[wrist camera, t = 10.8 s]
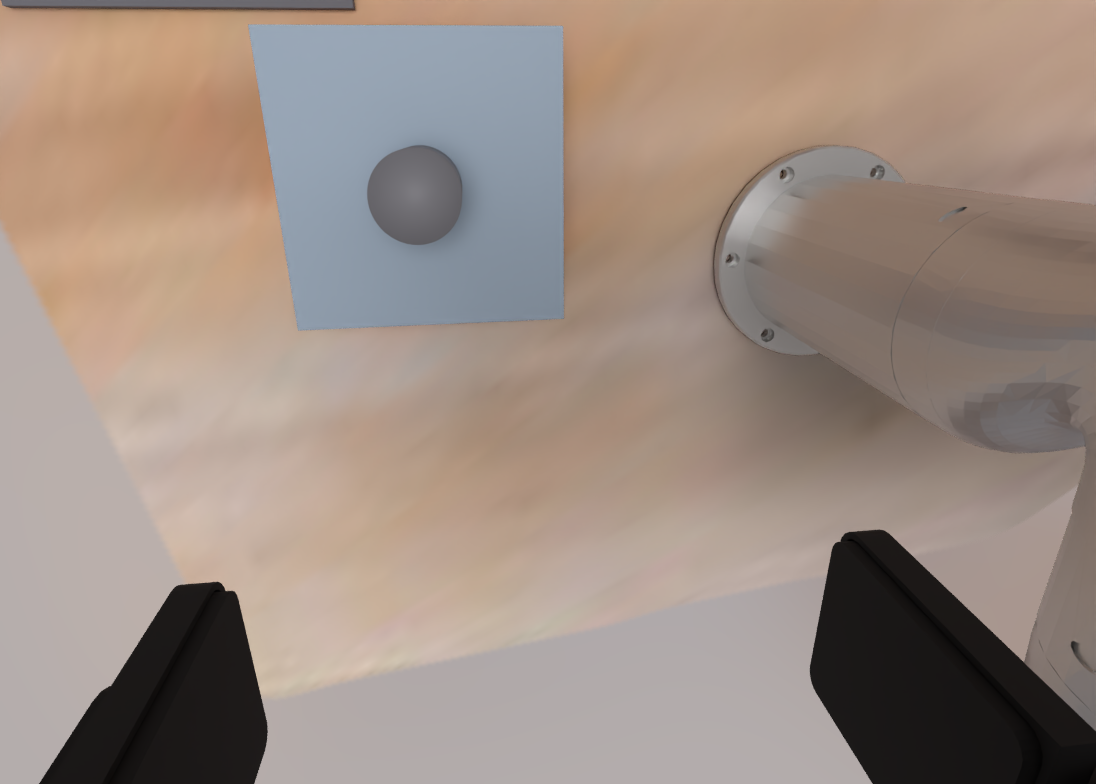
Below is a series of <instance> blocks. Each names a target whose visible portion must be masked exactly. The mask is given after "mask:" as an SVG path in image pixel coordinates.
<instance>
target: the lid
mask: <svg viewBox="0 0 1096 784" xmlns="http://www.w3.org/2000/svg"><path fill="white" fill-rule="evenodd" d="M248 27H249V33H250V39H251V45H252V51H253V57H254V64H255V70H256V76H257V82H258V88H259V94H260V100H261V106H262V113H263V119H264V125H265V131H266V137H267V143H268V149H269V155H270V162H271V168H272V174H273V180H274V186H275V192H276V198H277V204H278V211H279V217H280V223H281V229H282V235H283V241H284V247H285V253H286V260H287V266H288V272H289V278H290V284H291V290H292V296H293V302H294V309H295V315H296V321H297V327H298V330H319V329H342V328H365V327H388V326H410V325H433V324H456V323H479V322H502V321H524V320H547V319H564V206H563V26H465V25H248Z"/></svg>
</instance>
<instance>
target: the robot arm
mask: <svg viewBox="0 0 1096 784" xmlns="http://www.w3.org/2000/svg"><path fill="white" fill-rule="evenodd" d="M781 170H783V172H784V174H783V177H782V178H780V172H781ZM871 170H872V173H871ZM870 173H871V175H870ZM729 254H730V256H731V258H730V260H729V261H727V262H726V261H725V260H726V257H727V256H728V255H729ZM714 273H715V284H716V288H717V292H718V296H719V300H720V302H721V304H722V306H723V308H724V310H725V312H726V314H727V316H728V317H729V319H730V320H731V321H732V322H733V324H734V325H735V326H736V327H737V329H738V330H740V331H741V332H742V333H743V334H744V335H746V336H747V337H748V338H749V339H751V340H752V341H754V342H755V343H757V344H758V345H760V346H762V347H764V348H766V349H769V350H772V351H774V352H777V353H781V354H788V355H795V356H801V355H815V354H820V353H821V354H822V355H824V356H825V357H827V358H828V359H830V360H832V361H833V362H835V363H836V364H838V365H839V366H841V367H843V368H844V369H846V370H847V371H849V372H851V373H852V374H854V375H855V376H857V377H858V378H860V379H862V380H863V381H865V382H866V383H868V384H869V385H871V386H873V387H874V388H876V389H877V390H879V391H880V392H882V393H884V394H885V395H887V396H888V397H890V398H891V399H893V400H895V401H896V402H898V403H899V404H901V405H903V406H904V407H906V408H907V409H909V410H910V411H912V412H914V413H915V414H917V415H919V416H920V417H922V418H924V419H925V420H927V421H929V422H930V423H932V424H934V425H935V426H937V427H939V428H940V429H942V430H943V431H945V432H947V433H948V434H950V435H952V436H954V437H956V438H958V439H960V440H963V441H965V442H967V443H970V444H973V445H976V446H979V447H982V448H986V449H991V450H997V451H1003V452H1010V453H1038V452H1052V451H1060V450H1066V449H1072V448H1078V447H1084V446H1085V447H1086V454H1085V464H1084V468H1083V471H1082V475H1081V478H1080V482H1079V485H1078V488H1077V492H1076V495H1075V498H1074V500H1073V505H1072V514H1071V517H1070V520H1069V523H1068V526H1067V528H1066V532H1065V534H1064V537H1063V540H1062V543H1061V546H1060V549H1059V552H1058V554H1057V557H1056V560H1055V563H1054V566H1053V569H1052V572H1051V575H1050V578H1049V581H1048V583H1047V586H1046V589H1045V592H1044V595H1043V598H1042V601H1041V604H1040V607H1039V609H1038V613H1037V618H1036V621H1035V624H1034V627H1033V630H1032V633H1031V637H1030V641H1029V645H1028V649H1027V653H1026V657H1025V661H1024V662H1023V661H1022V660H1021V659H1020V658H1019V657H1018V656H1017V655H1015V654H1014V653H1013V652H1012V651H1011V650H1010V649H1009V648H1008V647H1007V646H1006V645H1005V644H1004V643H1003V642H1002V641H1001V640H1000V639H999V638H998V637H996V635H995V634H994V633H993V632H991V631H990V630H989V629H988V628H987V627H986V626H985V625H984V624H983V623H982V622H981V621H980V620H979V619H978V618H977V617H976V616H975V615H974V614H973V613H971V611H969V610H968V609H967V608H966V607H965V606H964V605H963V604H962V603H961V602H960V601H959V600H958V599H957V598H956V597H955V596H954V595H952V593H951V592H949V591H948V590H947V589H946V588H945V587H944V586H943V585H942V584H941V583H940V582H939V581H938V580H937V579H936V578H935V577H934V576H933V575H932V574H930V572H929V571H927V570H926V569H925V568H924V567H923V566H922V565H921V564H920V563H919V562H918V561H917V560H916V559H915V558H914V557H913V556H912V555H911V554H910V553H909V552H908V551H907V550H906V549H905V548H903V547H902V546H901V545H900V544H899V543H898V542H897V541H896V540H895V539H894V538H893V537H892V536H891V535H890V534H889V533H887V532H886V531H884V530H869V531H857V532H848V533H845V534H844V536H843V537H842V539H841V542H837V543H835V545H834V546H833V549H832V552H831V558H830V563H829V568H828V574H827V579H826V584H825V590H824V595H823V600H822V606H821V611H820V617H819V622H818V627H817V632H816V638H815V643H814V648H813V654H812V659H811V664H810V677H811V681H812V685H813V687H814V689H815V691H816V693H817V695H818V697H819V698H820V700H821V701H822V703H823V705H824V706H825V708H826V709H827V711H828V713H829V714H830V716H831V717H832V719H833V721H834V722H835V724H836V726H837V727H838V729H839V730H840V732H841V734H842V735H843V737H844V738H845V740H846V741H847V743H848V745H849V746H850V748H851V750H852V751H853V753H854V754H855V756H856V757H857V759H858V761H859V762H860V764H861V765H862V767H863V769H864V771H865V772H866V774H867V775H868V777H869V779H870V780H871V782H872V783H873V784H1096V205H1091V204H1082V203H1074V202H1065V201H1056V200H1046V199H1034V198H1026V197H1018V196H1009V195H1001V194H993V193H985V192H976V191H968V190H960V189H952V188H944V187H935V186H927V185H919V184H911V183H905V181H904V179H903V178H902V176H901V175H900V174H899V173H898V172H897V171H896V170H895V169H894V168H893V167H892V166H891V165H890V164H889V163H888V162H886V161H885V160H883V159H882V158H880V157H878V156H877V155H875V154H874V153H871V152H868V151H865V150H862V149H859V148H856V147H848V146H838V145H833V146H816V147H811V148H807V149H802V150H798V151H796V152H794V153H792V154H789V155H787V156H785V157H783V158H780V159H778V160H777V161H776V162H774V163H773V164H771V165H770V166H768V167H767V168H765V169H764V170H762V171H761V172H760V173H759V174H758V175H757V176H756V177H755V178H754V179H753V180H752V181H751V182H750V183H749V184H747V185H746V186H745V188H744V189H743V191H742V192H741V193H740V195H739V196H738V197H737V199H736V200H735V201H734V203H733V204H732V206H731V208H730V210H729V212H728V214H727V216H726V218H725V220H724V222H723V224H722V227H721V230H720V234H719V237H718V240H717V244H716V251H715V259H714ZM764 330H765V332H764V333H763V334H762V332H763V331H764ZM267 733H268V731H267V720H266V716H265V712H264V708H263V703H262V699H261V695H260V690H259V686H258V682H257V678H256V673H255V669H254V665H253V660H252V656H251V652H250V648H249V643H248V639H247V635H246V630H245V626H244V622H243V618H242V613H241V609H240V605H239V601H238V597H237V594H236V593H235V592H234V591H225V589H224V586H223V585H222V584H221V583H219V582H210V583H198V584H185V585H178V586H176V587H175V588H174V589H173V590H172V591H171V593H170V594H169V596H168V598H167V599H166V601H165V602H164V604H163V605H162V607H161V609H160V610H159V612H158V613H157V615H156V616H155V618H154V619H153V621H152V623H151V624H150V626H149V628H148V629H147V631H146V632H145V634H144V635H143V637H142V638H141V640H140V642H139V643H138V645H137V647H136V648H135V649H134V651H133V652H132V654H131V656H130V657H129V659H128V660H127V662H126V663H125V665H124V667H123V668H122V670H121V671H120V673H119V674H118V676H117V678H116V679H115V681H114V683H113V684H112V686H109V687H108V688H106V689H104V690H103V691H101V692H100V693H99V695H98V696H97V697H96V698H95V699H94V701H93V702H92V703H91V705H90V707H89V708H88V710H87V711H86V713H85V714H84V716H83V717H82V719H81V720H80V722H79V723H78V725H77V726H76V728H75V729H74V731H73V732H72V734H71V736H70V737H69V739H68V740H67V742H66V743H65V745H64V747H63V748H62V750H61V751H60V753H59V754H58V756H57V757H56V759H55V760H54V762H53V763H52V765H51V766H50V768H49V769H48V771H47V772H46V774H45V775H44V777H43V779H42V780H41V782H40V783H39V784H254V783H255V779H256V776H257V773H258V770H259V767H260V764H261V761H262V758H263V755H264V752H265V747H266V742H267Z"/></svg>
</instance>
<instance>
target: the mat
mask: <svg viewBox="0 0 1096 784" xmlns="http://www.w3.org/2000/svg"><path fill="white" fill-rule="evenodd" d="M1 1H2V5H3V6H6V7H10V8H116V9H267V10H355V3H354V0H1Z"/></svg>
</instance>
